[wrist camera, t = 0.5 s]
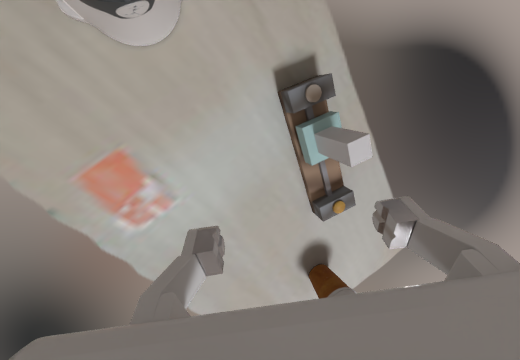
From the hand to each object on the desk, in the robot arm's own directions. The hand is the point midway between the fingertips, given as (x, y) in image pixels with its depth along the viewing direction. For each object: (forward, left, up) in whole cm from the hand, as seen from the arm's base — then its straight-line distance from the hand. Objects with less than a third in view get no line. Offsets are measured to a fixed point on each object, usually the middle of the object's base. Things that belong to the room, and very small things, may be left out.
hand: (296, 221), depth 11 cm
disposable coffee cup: (+48, +10, -35) cm, 60 cm away
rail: (+12, +18, -35) cm, 41 cm away
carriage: (+8, +18, -32) cm, 38 cm away
